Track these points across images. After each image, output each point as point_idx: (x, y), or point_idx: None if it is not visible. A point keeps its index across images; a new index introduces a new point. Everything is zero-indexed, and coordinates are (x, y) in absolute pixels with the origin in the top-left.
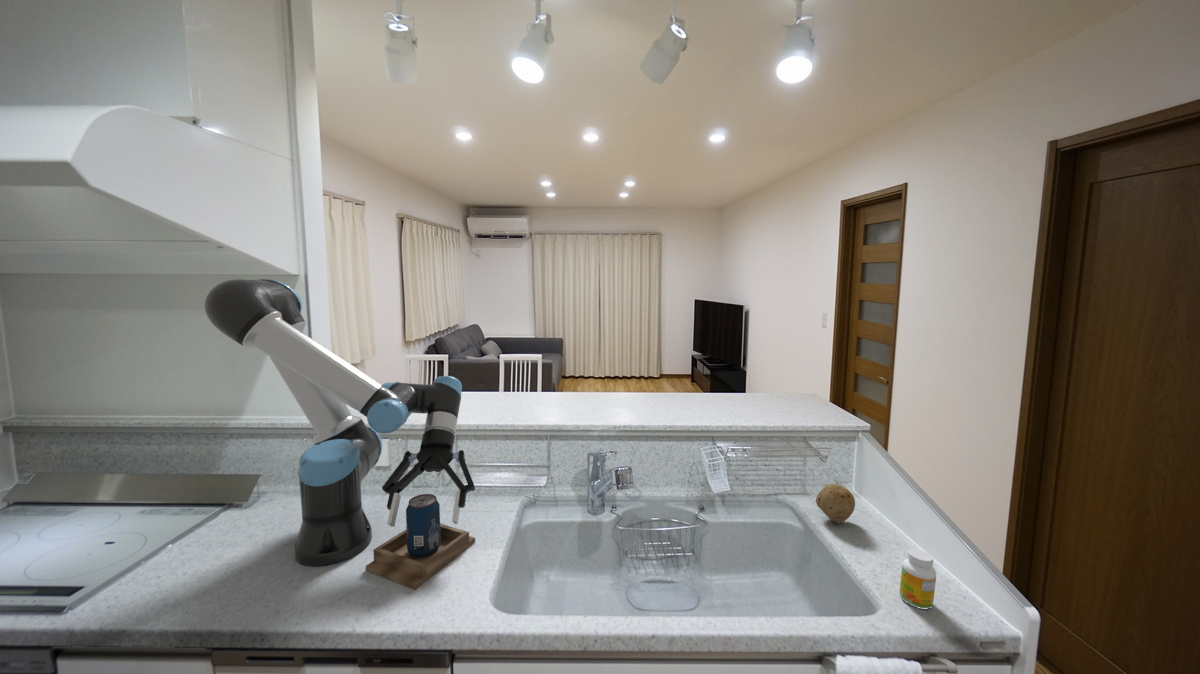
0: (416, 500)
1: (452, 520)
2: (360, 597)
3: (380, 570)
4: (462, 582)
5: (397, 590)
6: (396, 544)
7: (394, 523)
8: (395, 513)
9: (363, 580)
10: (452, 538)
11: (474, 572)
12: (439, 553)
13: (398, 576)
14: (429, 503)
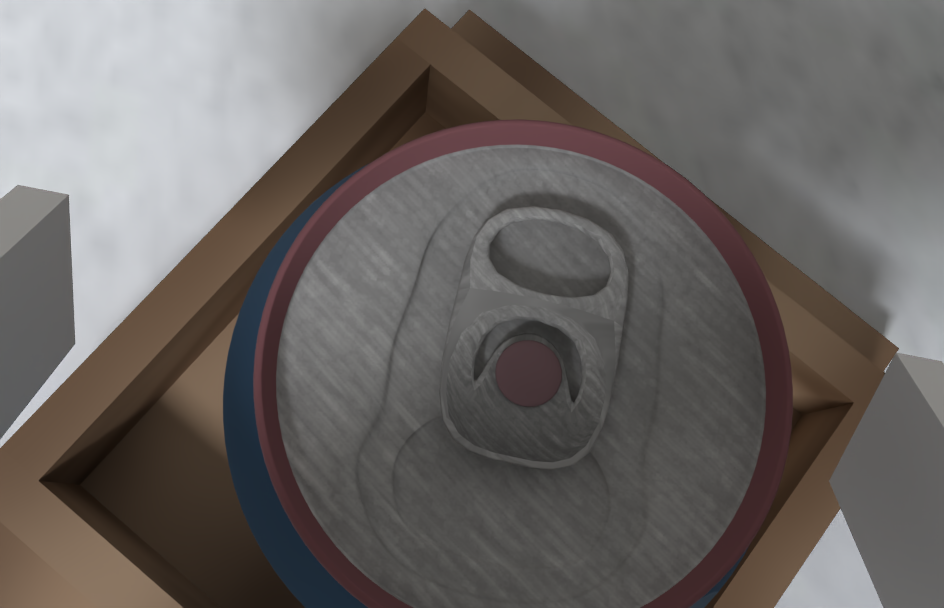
0: (655, 455)
1: (62, 198)
2: (812, 57)
3: (763, 252)
4: (126, 12)
5: (586, 57)
6: None
7: (848, 481)
8: (910, 535)
9: (853, 234)
10: (180, 578)
11: (23, 100)
12: (287, 168)
13: None
14: (386, 254)
